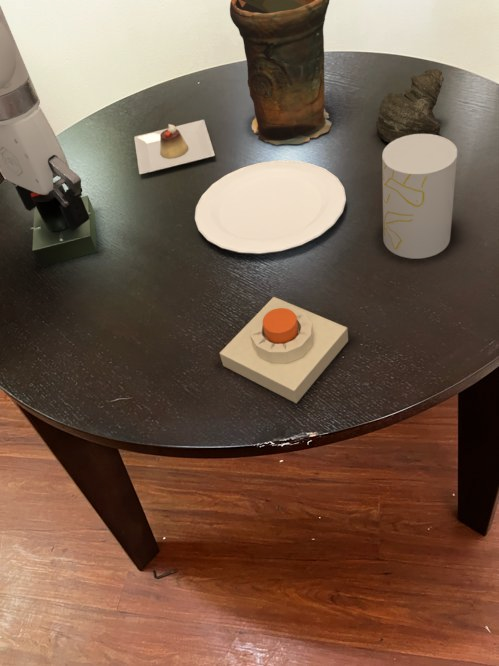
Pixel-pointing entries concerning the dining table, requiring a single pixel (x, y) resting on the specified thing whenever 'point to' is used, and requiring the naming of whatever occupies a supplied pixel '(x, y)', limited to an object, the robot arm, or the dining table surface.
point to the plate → (270, 207)
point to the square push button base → (285, 352)
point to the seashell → (411, 108)
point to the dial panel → (64, 239)
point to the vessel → (284, 66)
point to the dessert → (173, 147)
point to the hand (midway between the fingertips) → (57, 214)
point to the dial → (50, 210)
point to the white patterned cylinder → (418, 194)
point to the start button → (280, 325)
